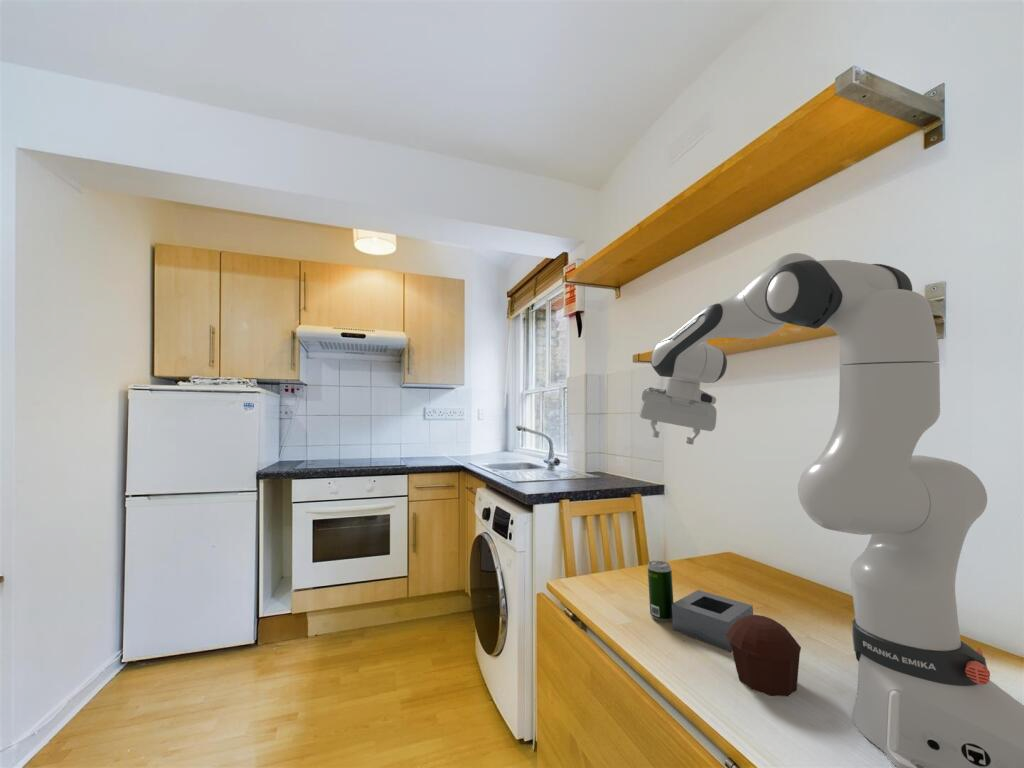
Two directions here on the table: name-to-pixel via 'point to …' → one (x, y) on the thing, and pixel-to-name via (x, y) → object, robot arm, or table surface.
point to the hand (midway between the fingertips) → (672, 440)
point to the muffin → (765, 655)
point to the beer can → (660, 590)
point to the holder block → (708, 617)
